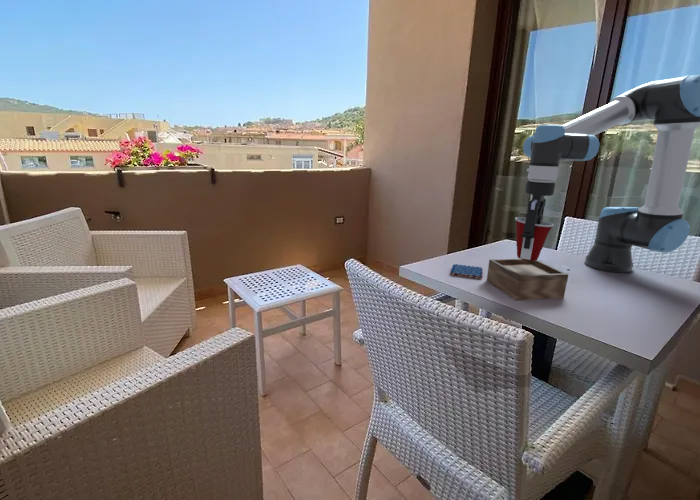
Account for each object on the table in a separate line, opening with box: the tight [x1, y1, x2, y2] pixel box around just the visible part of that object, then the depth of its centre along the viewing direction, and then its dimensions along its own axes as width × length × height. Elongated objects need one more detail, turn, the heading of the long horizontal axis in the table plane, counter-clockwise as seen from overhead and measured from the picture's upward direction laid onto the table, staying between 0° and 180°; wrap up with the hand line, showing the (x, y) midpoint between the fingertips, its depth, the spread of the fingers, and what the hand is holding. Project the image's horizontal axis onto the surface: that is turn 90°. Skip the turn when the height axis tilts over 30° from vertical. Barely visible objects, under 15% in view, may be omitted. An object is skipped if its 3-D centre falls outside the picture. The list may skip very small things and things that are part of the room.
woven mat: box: [450, 263, 484, 281], centre depth 128 cm, size 10×11×2 cm
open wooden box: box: [486, 258, 569, 301], centre depth 114 cm, size 16×16×8 cm
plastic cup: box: [514, 216, 555, 261], centre depth 110 cm, size 11×11×12 cm
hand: (528, 255), depth 112 cm, fingers closed on plastic cup, 9 cm apart
